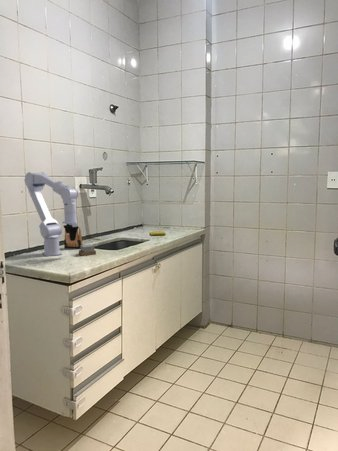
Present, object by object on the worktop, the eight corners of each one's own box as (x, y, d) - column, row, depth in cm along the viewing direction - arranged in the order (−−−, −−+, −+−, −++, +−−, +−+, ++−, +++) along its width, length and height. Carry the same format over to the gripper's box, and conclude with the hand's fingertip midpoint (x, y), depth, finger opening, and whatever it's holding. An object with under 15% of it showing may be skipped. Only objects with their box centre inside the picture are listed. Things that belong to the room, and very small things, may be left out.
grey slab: (80, 250, 197) (80, 245, 196) (90, 249, 199) (90, 244, 199) (84, 251, 192) (84, 247, 192) (94, 250, 195) (94, 245, 195)
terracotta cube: (66, 242, 189) (65, 233, 188) (74, 241, 191) (74, 232, 190) (68, 243, 185) (67, 234, 184) (77, 242, 187) (76, 233, 186)
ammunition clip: (64, 248, 213) (63, 227, 212) (66, 247, 215) (65, 226, 213) (81, 249, 210) (80, 227, 209) (82, 248, 212) (82, 227, 210)
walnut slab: (78, 254, 198) (78, 250, 197) (91, 253, 201) (91, 248, 201) (82, 257, 192) (82, 252, 191) (96, 255, 195) (95, 250, 195)
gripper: (58, 211, 190) (60, 238, 192) (65, 214, 178) (67, 242, 179) (72, 211, 194) (73, 237, 195) (80, 213, 181) (81, 241, 183)
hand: (71, 239), depth 188 cm, fingers closed on terracotta cube, 4 cm apart
